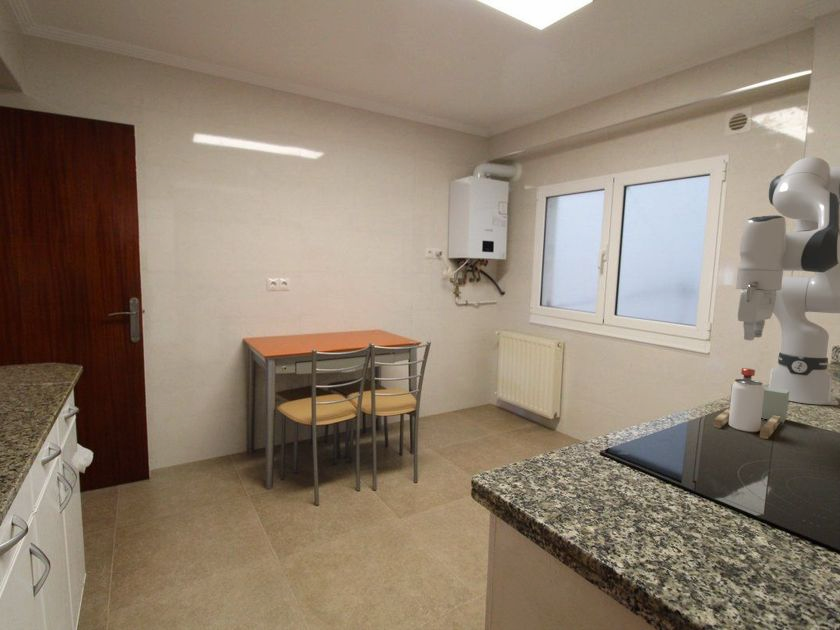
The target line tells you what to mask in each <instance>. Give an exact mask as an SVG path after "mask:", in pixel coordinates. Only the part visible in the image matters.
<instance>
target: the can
mask: <svg viewBox="0 0 840 630" xmlns="http://www.w3.org/2000/svg"><path fill="white" fill-rule="evenodd" d="M733 383H734V384H733ZM733 383H732V384H733V386H732V385H731V387H732V393H731V392H730V397H731V403H730V402H729V407H730V414H729V421H728V425H729V427H730V428H731V429H734V430H737V431H741V432H745V433H758V432H760V429H761V428H762V427H761V425H762V419H761V418H762V408H763V398H764V388H763V383H762V382H761V381H757V380H752V379H751V380H747V379H743V378H736V379H734V382H733Z"/></svg>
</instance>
